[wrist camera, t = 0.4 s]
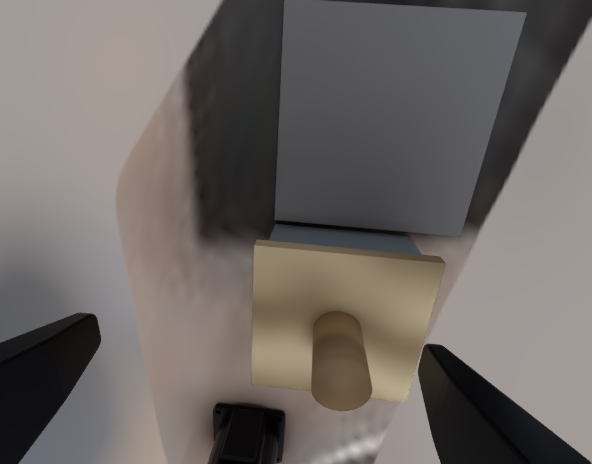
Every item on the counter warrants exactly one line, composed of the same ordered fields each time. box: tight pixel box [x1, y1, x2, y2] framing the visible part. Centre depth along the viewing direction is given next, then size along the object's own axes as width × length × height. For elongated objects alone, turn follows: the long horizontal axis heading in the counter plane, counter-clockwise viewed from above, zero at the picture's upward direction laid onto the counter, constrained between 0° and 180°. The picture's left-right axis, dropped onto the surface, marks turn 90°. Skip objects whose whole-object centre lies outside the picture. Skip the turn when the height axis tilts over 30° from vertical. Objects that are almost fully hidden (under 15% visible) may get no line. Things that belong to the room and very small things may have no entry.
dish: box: [269, 224, 422, 255], centre depth 20 cm, size 9×9×4 cm
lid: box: [251, 239, 446, 411], centre depth 16 cm, size 10×10×5 cm
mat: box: [274, 0, 526, 237], centre depth 18 cm, size 12×12×1 cm
